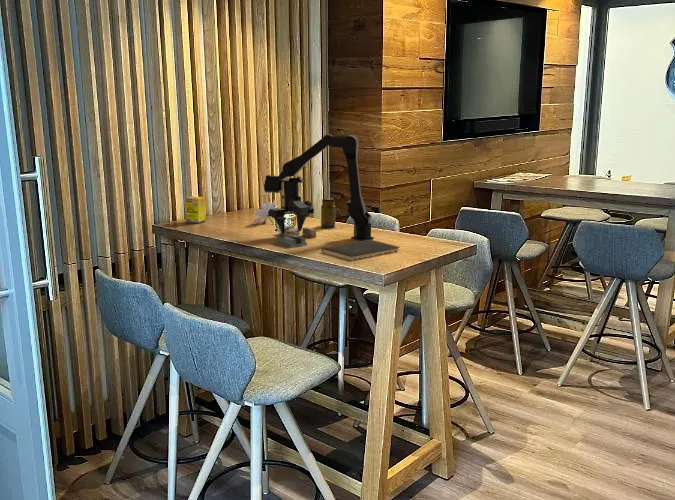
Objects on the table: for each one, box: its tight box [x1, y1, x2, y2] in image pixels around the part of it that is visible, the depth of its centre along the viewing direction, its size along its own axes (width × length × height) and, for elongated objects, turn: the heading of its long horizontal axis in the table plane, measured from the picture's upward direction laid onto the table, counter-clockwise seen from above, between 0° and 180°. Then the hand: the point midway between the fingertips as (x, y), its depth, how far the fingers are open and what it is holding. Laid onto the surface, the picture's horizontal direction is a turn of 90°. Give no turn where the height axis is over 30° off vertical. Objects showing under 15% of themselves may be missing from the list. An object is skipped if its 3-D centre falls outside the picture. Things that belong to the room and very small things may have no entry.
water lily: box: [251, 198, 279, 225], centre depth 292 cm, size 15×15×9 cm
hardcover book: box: [321, 239, 400, 261], centre depth 242 cm, size 16×23×2 cm
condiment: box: [317, 197, 342, 230], centre depth 285 cm, size 7×8×12 cm
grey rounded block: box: [284, 226, 317, 239], centre depth 264 cm, size 6×10×3 cm, turn 131°
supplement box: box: [185, 195, 206, 225], centre depth 292 cm, size 6×6×11 cm
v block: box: [274, 234, 308, 249], centre depth 253 cm, size 9×8×3 cm
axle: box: [276, 225, 300, 236], centre depth 268 cm, size 9×4×4 cm
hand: (291, 232), depth 269 cm, fingers open, 8 cm apart
